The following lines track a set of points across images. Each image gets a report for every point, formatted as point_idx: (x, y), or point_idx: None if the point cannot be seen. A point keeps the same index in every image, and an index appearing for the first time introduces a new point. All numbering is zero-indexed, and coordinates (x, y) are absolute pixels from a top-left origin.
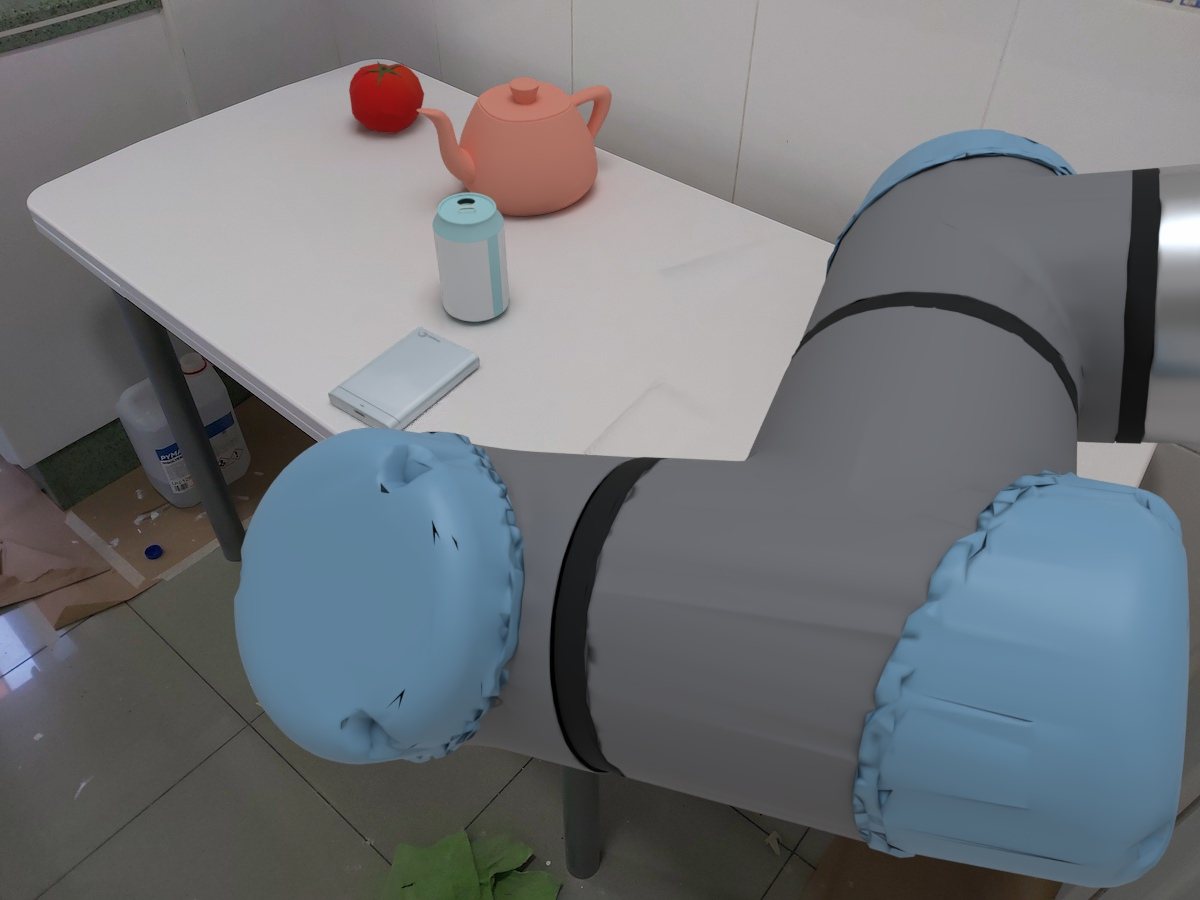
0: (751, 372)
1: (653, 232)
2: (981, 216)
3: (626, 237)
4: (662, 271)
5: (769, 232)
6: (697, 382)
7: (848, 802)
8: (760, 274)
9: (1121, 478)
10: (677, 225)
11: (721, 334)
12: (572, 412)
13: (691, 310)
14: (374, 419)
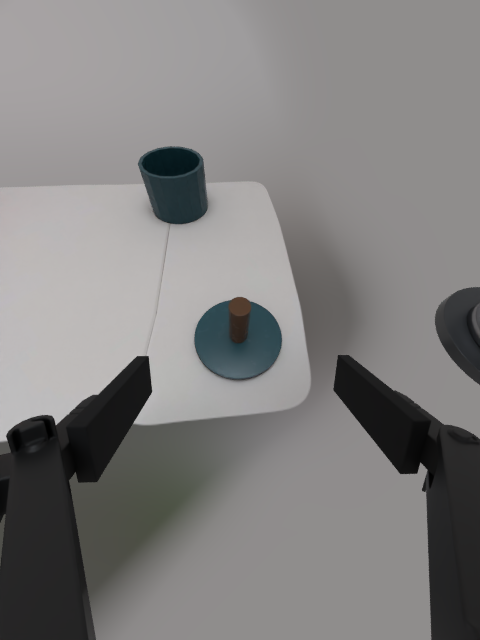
0: (117, 252)
1: (21, 213)
2: None
3: (6, 222)
4: (39, 229)
5: (81, 188)
6: (94, 271)
7: None
8: (90, 208)
9: (273, 216)
10: (32, 204)
11: (91, 243)
12: (35, 328)
13: (67, 240)
14: None
